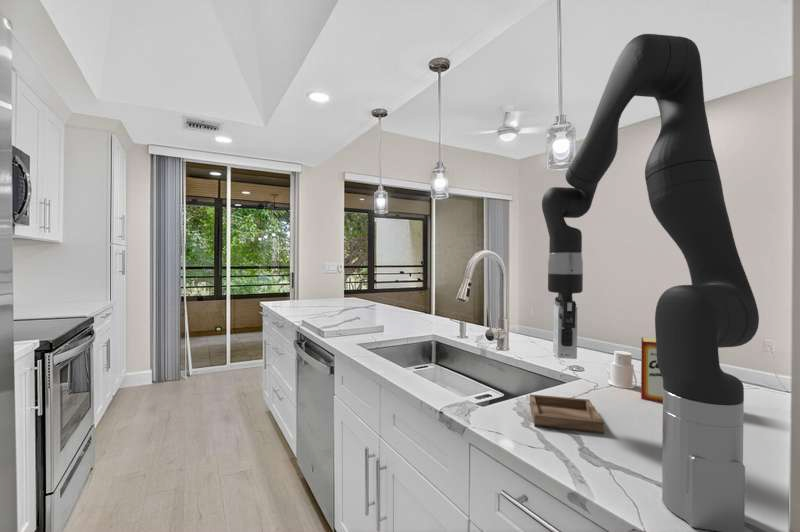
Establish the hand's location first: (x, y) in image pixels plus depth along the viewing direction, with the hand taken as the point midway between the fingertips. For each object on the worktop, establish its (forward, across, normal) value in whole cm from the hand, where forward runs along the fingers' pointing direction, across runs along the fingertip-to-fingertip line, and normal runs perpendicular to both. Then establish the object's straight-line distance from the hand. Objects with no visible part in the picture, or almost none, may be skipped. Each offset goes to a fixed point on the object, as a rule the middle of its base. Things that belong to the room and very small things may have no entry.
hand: (564, 342), depth 89 cm
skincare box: (+3, 0, 0) cm, 3 cm away
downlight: (+18, +31, -21) cm, 41 cm away
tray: (+18, 0, 0) cm, 18 cm away
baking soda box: (+18, +21, -28) cm, 39 cm away
